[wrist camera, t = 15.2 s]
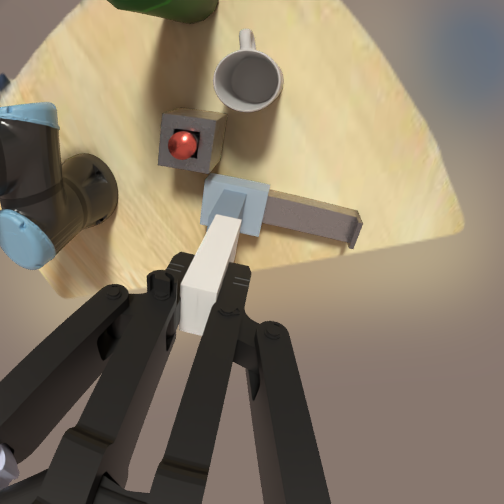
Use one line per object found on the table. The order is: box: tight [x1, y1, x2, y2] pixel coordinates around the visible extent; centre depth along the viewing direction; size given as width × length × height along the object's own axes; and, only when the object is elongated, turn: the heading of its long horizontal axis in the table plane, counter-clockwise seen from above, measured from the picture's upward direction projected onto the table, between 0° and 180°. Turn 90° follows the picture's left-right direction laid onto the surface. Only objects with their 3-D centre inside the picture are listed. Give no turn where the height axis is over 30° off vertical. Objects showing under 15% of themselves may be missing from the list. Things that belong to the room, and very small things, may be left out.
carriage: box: [200, 173, 270, 237], centre depth 47 cm, size 10×8×14 cm
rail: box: [262, 189, 363, 249], centre depth 52 cm, size 26×5×5 cm, turn 80°
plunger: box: [168, 130, 200, 160], centre depth 44 cm, size 4×4×9 cm
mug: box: [213, 29, 284, 112], centre depth 37 cm, size 12×8×11 cm
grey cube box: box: [158, 108, 228, 174], centre depth 45 cm, size 8×8×8 cm
